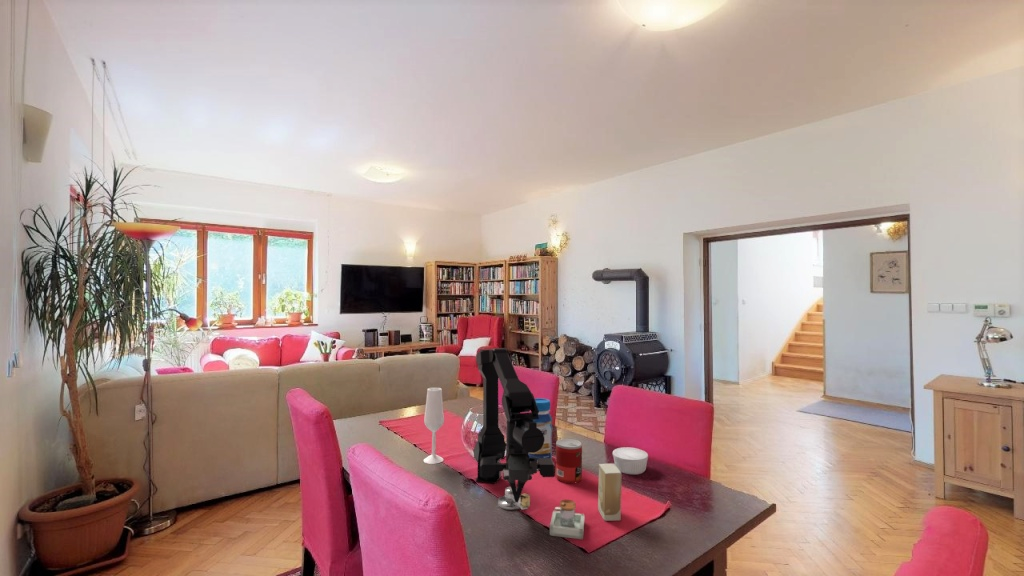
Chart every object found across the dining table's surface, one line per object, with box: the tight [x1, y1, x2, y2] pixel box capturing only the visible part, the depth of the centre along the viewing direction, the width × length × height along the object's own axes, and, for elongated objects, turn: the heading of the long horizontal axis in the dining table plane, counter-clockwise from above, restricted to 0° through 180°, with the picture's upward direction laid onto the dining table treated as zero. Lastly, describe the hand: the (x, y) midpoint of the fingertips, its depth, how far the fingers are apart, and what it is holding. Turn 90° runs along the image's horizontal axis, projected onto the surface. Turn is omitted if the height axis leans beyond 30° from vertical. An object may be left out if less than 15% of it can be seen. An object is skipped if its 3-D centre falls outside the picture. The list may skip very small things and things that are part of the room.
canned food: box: [555, 438, 583, 484], centre depth 135 cm, size 8×8×11 cm
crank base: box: [497, 495, 521, 511], centre depth 118 cm, size 7×7×1 cm
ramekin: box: [612, 446, 649, 476], centre depth 143 cm, size 11×11×5 cm
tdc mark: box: [554, 506, 561, 511], centre depth 115 cm, size 3×1×1 cm, turn 78°
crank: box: [504, 486, 531, 510], centre depth 115 cm, size 11×3×5 cm, turn 25°
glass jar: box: [559, 499, 577, 528], centre depth 106 cm, size 4×4×6 cm
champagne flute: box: [423, 387, 445, 465], centre depth 148 cm, size 7×7×24 cm
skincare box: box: [597, 463, 623, 522], centre depth 113 cm, size 6×4×12 cm
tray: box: [549, 510, 586, 540], centre depth 106 cm, size 8×8×2 cm
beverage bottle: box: [529, 397, 554, 460], centre depth 151 cm, size 8×8×20 cm
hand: (516, 501), depth 110 cm, fingers closed
